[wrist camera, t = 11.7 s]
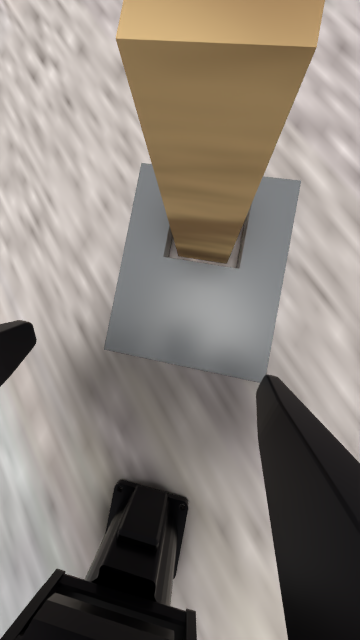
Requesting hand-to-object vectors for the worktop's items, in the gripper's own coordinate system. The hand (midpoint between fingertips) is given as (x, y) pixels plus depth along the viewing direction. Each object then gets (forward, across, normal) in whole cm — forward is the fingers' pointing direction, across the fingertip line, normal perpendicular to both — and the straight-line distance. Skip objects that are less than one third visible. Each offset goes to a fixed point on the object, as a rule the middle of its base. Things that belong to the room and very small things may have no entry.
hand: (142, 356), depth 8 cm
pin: (+14, -1, -3) cm, 15 cm away
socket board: (+12, -1, 0) cm, 12 cm away
